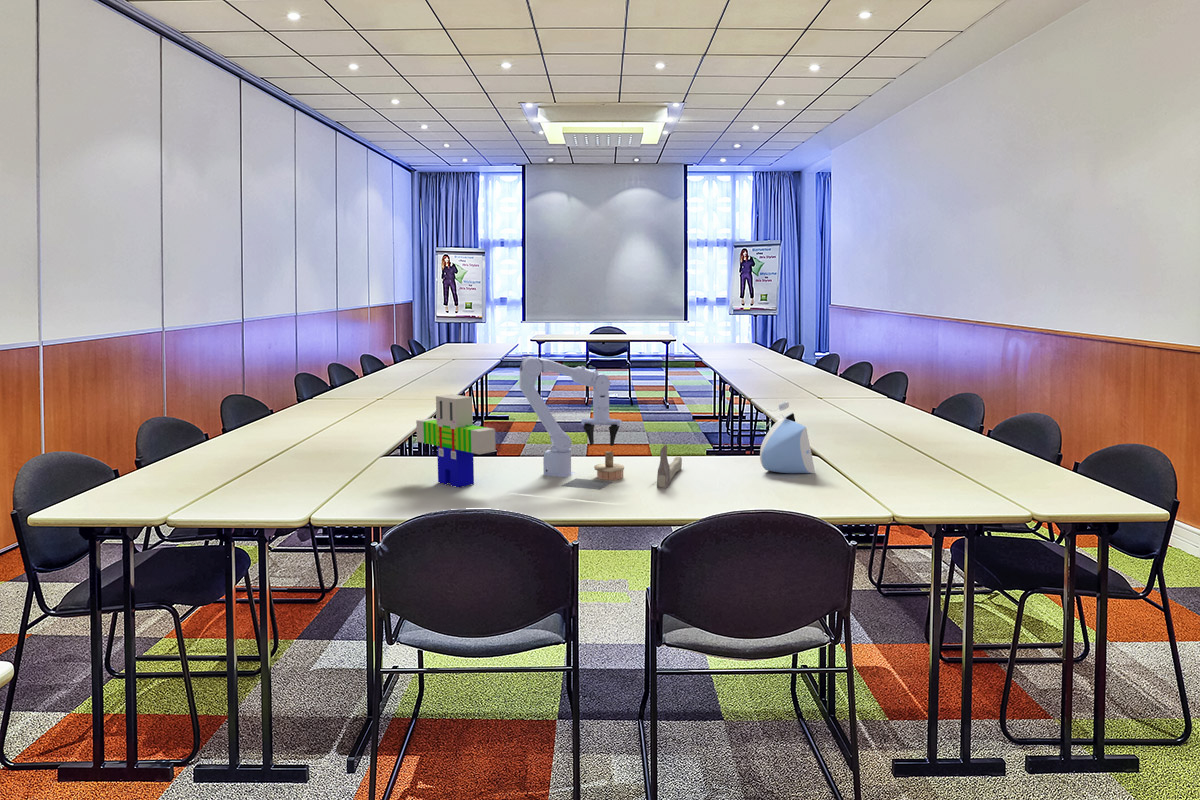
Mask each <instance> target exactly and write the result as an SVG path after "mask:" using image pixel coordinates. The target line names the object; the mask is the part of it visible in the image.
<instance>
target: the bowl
mask: <svg viewBox="0 0 1200 800" xmlns="http://www.w3.org/2000/svg"><path fill="white" fill-rule="evenodd" d="M596 477H597V478H598V479H599V480H604V481H609V480H610V481H612V480H620V479H623V478H624V470H622V471H617V472H602V471H597V470H596Z"/></svg>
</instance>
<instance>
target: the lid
mask: <svg viewBox="0 0 1200 800" xmlns="http://www.w3.org/2000/svg"><path fill="white" fill-rule="evenodd" d="M604 454H605V455H604V456H605V457H604V463H599V464H596V465H594V470H595V471H596V472H597V471H602V472H617V471H622V470H623V471H625V466H624V464H620V463H614V451H605V453H604Z"/></svg>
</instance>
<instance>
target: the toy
mask: <svg viewBox="0 0 1200 800" xmlns="http://www.w3.org/2000/svg"><path fill="white" fill-rule="evenodd" d="M435 414H436V416H435V417H436V418H434V417H432V418H423V419H417V420H416V422H415V423H416V442H418V443H421V444H428V445H432V446H436V447H437V449H436V453H437V455H436V457H437V483H438V482H440V483H439V484H441V483H444V484H443V485H445V484H446V485H448V484H447V483H450V484H449V485H452V486H451V487H453V486H456V487H455V488H457V487H459V488H463V487H462V486H464V487H468V486H467V485H469V486H472V485H471V484H473V485H475V474H474V473H475V470H474V468H475V467H474V466H475V465H474V464H475V463H474V454H476V455H482V454H483V455H484V454H489V453H495V452H496V428H492V427H486V426H480V425H475V424H473V422H474V421H473V418H474V417H473V397H472V396H468V395H467V396H466V395H460V394H453V393H451V394H443V395H436V396H435Z"/></svg>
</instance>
